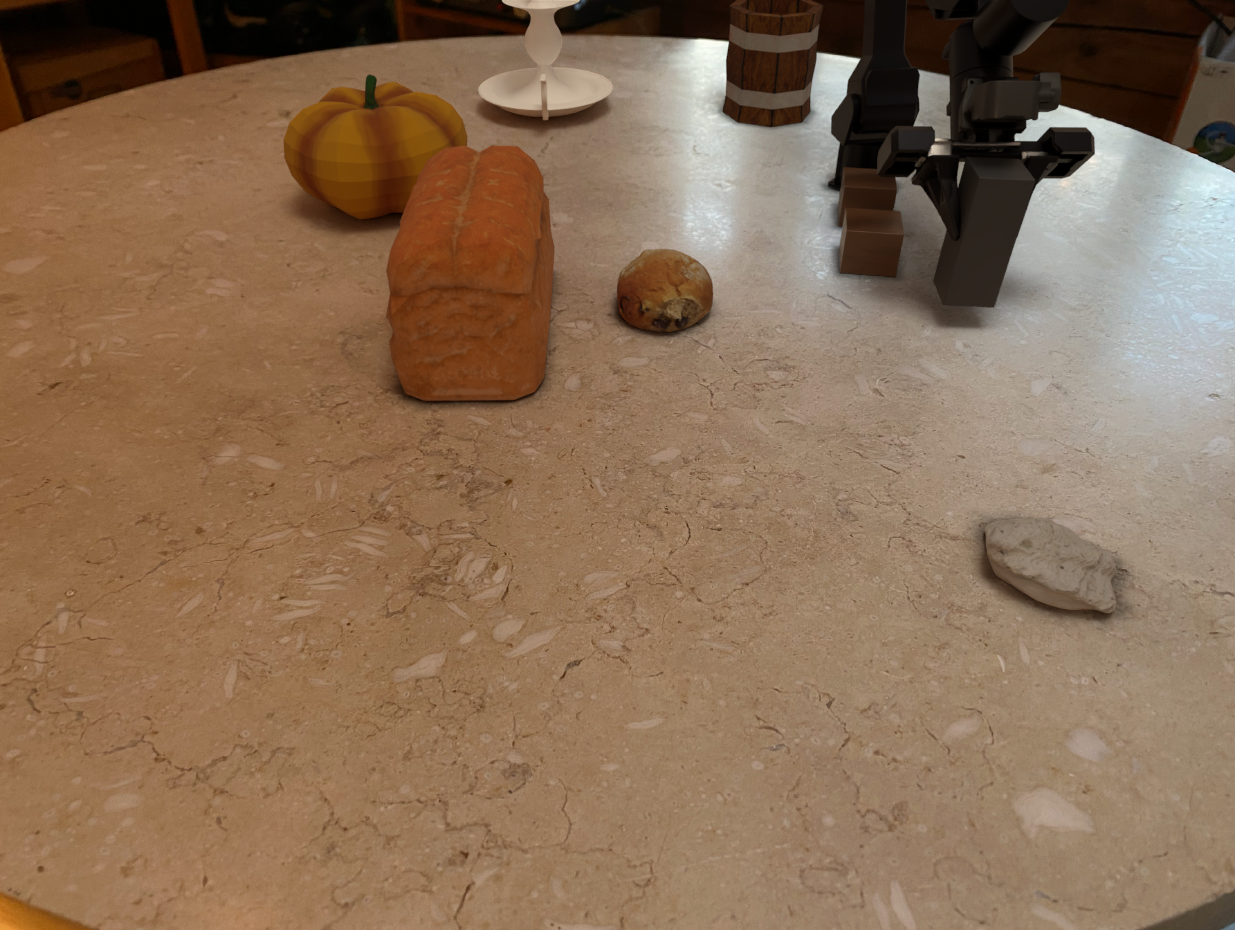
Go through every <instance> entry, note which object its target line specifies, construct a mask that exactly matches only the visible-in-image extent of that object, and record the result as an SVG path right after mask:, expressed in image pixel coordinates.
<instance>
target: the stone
mask: <svg viewBox="0 0 1235 930" xmlns="http://www.w3.org/2000/svg"><path fill="white" fill-rule="evenodd" d="M984 534H985V549H986V555H987V558H988V561H989V563H990V567H991V568H992V571H993V574H995V576H996V577H998V578H999V579H1001V580H1002V581H1004V582H1006V583H1008V584H1009V585H1011V586H1012V587H1014V588H1015V589H1017V590H1018V591H1019V592H1021V593H1023V594H1025V595H1026V596H1028V597H1030V598H1031V599H1033V600H1035V601H1036V602H1040V603H1043V604H1045V605H1046V606H1047V605H1048V606H1052V607H1055V608H1058V609H1062V610H1064V609H1065V610H1070V611H1071V610H1073V611H1079V610H1091V611H1092V610H1093V611H1097V612H1100V613H1103V614H1111V613H1113V612H1114V611H1115V609H1116V608H1117V607H1116V604H1117V603H1118V602H1117V600H1116V595H1115V592H1114V588H1113V585H1112V579H1113V578H1114V576H1115V575H1116V574H1117V566H1116V563H1115V561H1114V557H1113V556H1112V554H1111V553H1110V552H1109V551H1106V549H1104V548H1103V547H1101V546H1099V545H1098V544H1096V543H1094V542H1093V541H1088V540H1086V539H1083V538H1081V537H1080V536H1078V535H1077V534H1076V533H1075V532H1074V530H1072V529H1071V528H1070V527H1068V526H1065V525H1064V524H1060V523H1057V522H1055V521H1054V520H1053V519H1052V518H1051V517H1050V518H1046V517H1025V518H1024V517H1016V518H1005V519H1002V520H1001V519H998V520H995V521H992V522H990V523H988V524H987V525H986V526H985V527H984Z"/></svg>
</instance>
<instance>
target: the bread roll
mask: <svg viewBox="0 0 1235 930" xmlns="http://www.w3.org/2000/svg"><path fill="white" fill-rule="evenodd" d="M617 279H618V280H617V284H616V299H617V308H618V313H619V315H620V316H621V317H622V318H623V320H624V321H625V322H626V323H627V324H628V325H631V326H632V327H634V328H637V329H641V330H646V331H650V332H651V331H652V332H656V333H661V332H665V333H666V332H667V333H671V332H676V331H681V330H684V329H687V328H690V327H692V326H693V325H695V324H696V323H698V322H699V321H701V320H703V319H704V318H705V317H706V316H707V314H709V312H711V310H712V306H713V301H714V283H713V280H712V277H711V275H710V273H709V271H708V269H707V268H706V267H705V265H703V264H702V263H701V262H700V261H699V260H697V259H696V258H694V257H692V256H690V255H689V254H686V253H685V252H683V251H681V250H680V251H679V250H676V249H670V248H655V249H652V248H651V249H643V250H642V252H641V253H640V255H638V256H636V257H635V258H634V259H633V260H632V261H630V263H628V264H627V265H626V266H624V267H623V269H622V270H621V271H620V272H619V275H618V278H617Z"/></svg>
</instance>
